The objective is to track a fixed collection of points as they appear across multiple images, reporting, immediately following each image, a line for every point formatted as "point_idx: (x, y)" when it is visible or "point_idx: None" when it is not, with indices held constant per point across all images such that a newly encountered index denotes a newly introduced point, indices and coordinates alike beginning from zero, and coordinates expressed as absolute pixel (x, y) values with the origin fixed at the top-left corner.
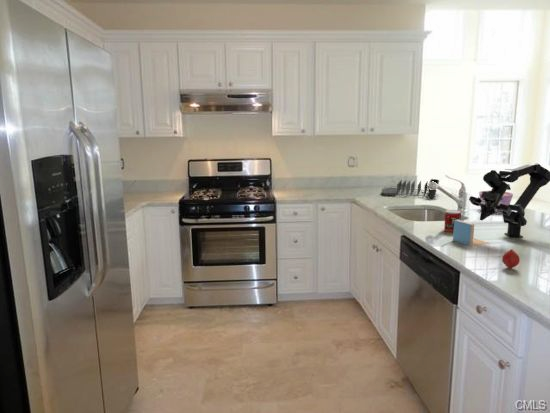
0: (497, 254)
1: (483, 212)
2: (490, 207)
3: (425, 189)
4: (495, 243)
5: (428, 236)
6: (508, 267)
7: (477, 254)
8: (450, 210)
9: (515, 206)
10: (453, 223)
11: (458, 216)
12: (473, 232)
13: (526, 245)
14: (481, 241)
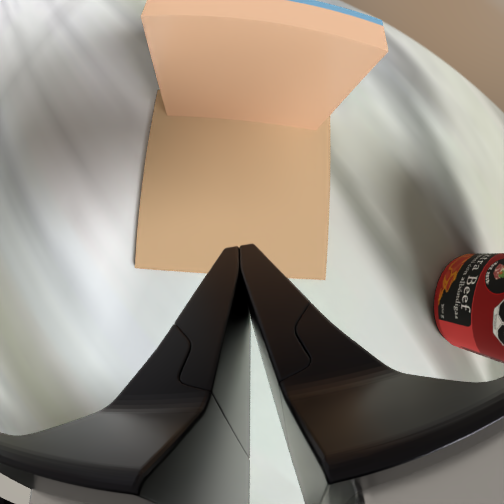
0: (8, 122)
1: (261, 336)
2: (31, 442)
3: None
4: (132, 315)
5: (428, 89)
6: None
7: (67, 38)
8: None
9: None
10: (486, 272)
11: None
12: (153, 64)
13: (46, 426)
14: (197, 249)
